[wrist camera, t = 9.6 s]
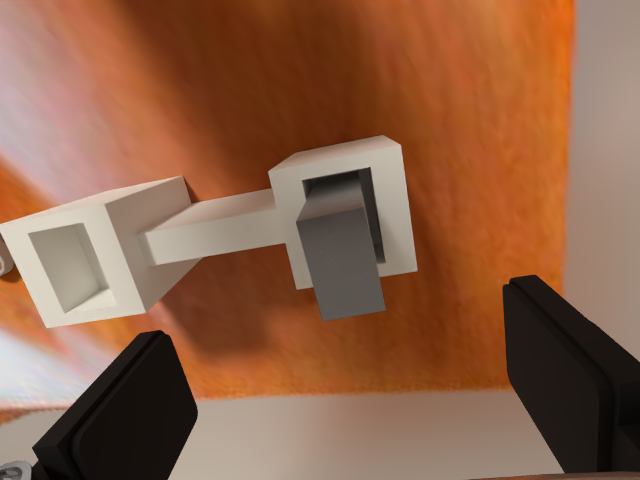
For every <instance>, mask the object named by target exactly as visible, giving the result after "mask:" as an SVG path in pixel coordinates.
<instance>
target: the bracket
mask: <svg viewBox="0 0 640 480" xmlns="http://www.w3.org/2000/svg"><path fill="white" fill-rule="evenodd" d="M0 261H1V265H2V270H0V276H1V275H3V274H6V273H8V272H10V271H11V270H12V268H13V266H14V260H13V258H12V256H11V254H10V251H9V249H8V247H7V246H6V244H5V243H4V242H3V240H2V238H1V236H0Z"/></svg>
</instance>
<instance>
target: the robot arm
mask: <svg viewBox="0 0 640 480" xmlns="http://www.w3.org/2000/svg"><path fill="white" fill-rule="evenodd" d="M503 306H504V324H505V341H506V359H507V373H508V377H509V380H510V383H511V385H512V387H513V388H514V390H515V392H516V393H517V395H518V396H519V398H520V400H521V401H522V403H523V405H524V406H525V408H526V410H527V411H528V413H529V415H530V416H531V418H532V420H533V421H534V423H535V425H536V426H537V428H538V430H539V431H540V433H541V434H542V436H543V438H544V439H545V441H546V443H547V444H548V446H549V448H550V449H551V451H552V453H553V454H554V456H555V458H556V459H557V461H558V463H559V464H560V466H561V467H562V469H563V471H564V472H565V474H542V475H529V476H516V477H500V478H484V479H470V480H640V362H639V361H638V360H637V359H635V358H634V357H633V356H632V355H631V354H630V353H628V352H627V351H626V350H625V349H624V348H623V347H621V346H620V345H619V344H618V343H616V342H615V341H614V340H613V339H612V338H611V337H610V336H608V335H607V334H606V333H605V332H604V331H603V330H601V329H600V328H599V327H598V326H597V325H596V324H594V323H593V322H591V321H589V320H588V319H587V318H586V317H584V316H583V315H582V314H581V313H580V312H578V311H577V310H576V309H575V308H574V307H573V306H571V305H570V304H569V303H568V302H567V301H566V300H565V299H563V298H562V297H561V296H560V295H559V294H558V293H556V292H555V291H554V290H553V289H552V288H551V287H549V286H548V285H547V284H546V283H545V282H544V281H542V280H541V279H540V278H539V277H538V276H536V275H529V276H522V277H515V278H511V279H510V281H509V284H506V285H504V286H503ZM197 414H198V410H197V406H196V403H195V400H194V398H193V395H192V392H191V390H190V387H189V384H188V382H187V379H186V376H185V374H184V371H183V368H182V366H181V363H180V361H179V358H178V355H177V353H176V350H175V347H174V345H173V342H172V339H171V337H170V336H169V335H168V334H165V333H164V332H163V331H161V330H157V331H150V332H144V333H140V334H139V335H137V336H136V338H135V339H134V340H133V341H132V342H131V343H130V344H129V345H128V346H127V347H126V348H125V349H124V350H123V351H122V352H121V354H120V355H119V356H118V357H117V358H116V359H115V360H114V361H113V362H112V363H111V364H110V365H109V366H108V367H107V368H106V370H105V371H104V372H103V373H102V374H101V375H100V376H99V377H98V378H97V379H96V380H95V381H94V382H93V383H92V384H91V386H90V387H89V388H88V389H87V390H86V391H85V392H84V393H83V394H82V395H81V396H80V397H79V398H78V399H77V400H76V402H75V403H74V404H73V405H72V406H71V407H70V408H69V409H68V410H67V411H66V412H65V413H64V414H63V415H62V416H61V418H60V419H59V420H58V421H57V422H56V423H55V424H54V425H53V426H52V427H51V428H50V429H49V430H48V431H47V432H46V434H45V435H44V436H43V437H42V438H41V439H40V440H39V441H38V442H37V443H36V444H35V445H34V446H33V447H32V449H33V451H34V453H35V454H36V456H37V458H38V462H37V463H36V464H35V465H34V466H33V467H32V466H31V465H30V463H28V462H26V461H14V462H10V463H7V464H4V465H2V466H0V480H168V478H169V476H170V474H171V472H172V470H173V468H174V465H175V463H176V461H177V459H178V457H179V455H180V453H181V451H182V449H183V447H184V445H185V443H186V441H187V439H188V437H189V435H190V433H191V430H192V429H193V426H194V424H195V422H196V420H197V416H198V415H197Z"/></svg>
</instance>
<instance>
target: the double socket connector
mask: <svg viewBox="0 0 640 480" xmlns="http://www.w3.org/2000/svg"><path fill="white" fill-rule="evenodd" d="M357 170H358V173H359V178H360V182H361V187H362V192H363V196H364V201H365V206H366V211H367V215H368V220H369V225H370V230H371V234H372V239H373V245H374V250H375V255H376V260H377V266H378V271H379V276H380V277H383V276H390V275H396V274H403V273H409V272H416V271H418V270H417V262H416V255H415V247H414V240H413V232H412V225H411V217H410V210H409V202H408V195H407V187H406V180H405V172H404V164H403V157H402V149H401V145H400V144H398V143H396V142H395V141H393V140H391V139H389V138H388V137H386V136H384V135H380V136H375V137H370V138H365V139H360V140H355V141H350V142H345V143H340V144H335V145H331V146H326V147H321V148H316V149H311V150H306V151H301V152H296V153H294V154H292V155H291V156H290V157H288V158H287V159H285V160H284V161H282V162H281V163H280V164H278V165H277V166H275V167H274V168H272V169H271V170H269V171H268V174H269V178H270V182H271V186H272V188H269V189H264V190H259V191H254V192H249V193H243V194H238V195H233V196H228V197H223V198H217V199H212V200H207V201H202V202H197V203H191V200H190V197H189V194H188V191H187V187H186V184H185V181H184V178H183V176H178V177H173V178H168V179H164V180H159V181H154V182H149V183H144V184H139V185H134V186H129V187H124V188H119V189H114V190H109V191H105V192H102V193H99V194H96V195H93V196H89V197H86V198H83V199H80V200H77V201H73V202H70V203H67V204H64V205H61V206H57V207H54V208H51V209H48V210H45V211H41V212H38V213H35V214H32V215H29V216H25V217H22V218H19V219H16V220H13V221H9V222H6V223H3V224H0V233H1V235H2V237H3V239H4V241H5V243H6V245H7V247H8V249H9V251H10V254H11V256H12V258H13V260H14V262H15V264H16V266H17V268H18V270H19V272H20V274H21V276H22V278H23V280H24V282H25V285H26V287H27V289H28V291H29V293H30V295H31V297H32V299H33V301H34V303H35V305H36V307H37V309H38V311H39V314H40V316H41V318H42V320H43V322H44V324H45V326H46V328H51V327H57V326H64V325H70V324H77V323H83V322H90V321H96V320H103V319H109V318H116V317H122V316H129V315H135V314H142V313H146V312H148V311H149V310H150V309H151V308H152V307H153V306H154V305H155V304H156V303H157V302H158V301H159V300H160V299H161V298H162V297H163V296H164V295H165V294H166V293H167V292H168V291H169V290H170V289H171V288H172V287H173V286H174V285H175V284H176V283H177V282H178V281H179V280H180V279H181V278H182V277H183V276H184V275H185V274H187V273H188V272H189V271H190V270H191V269H192V268H193V267H194V266H195V265H196V264H197V263H198V262H199V261H200V260H201V259H202V258H203V257H206V256H212V255H218V254H224V253H230V252H235V251H241V250H247V249H253V248H259V247H265V246H270V245H276V244H282V243H285V244H286V248H287V252H288V256H289V260H290V264H291V268H292V272H293V277H294V281H295V285H296V289H297V290H298V289H305V288H311V287H313V284H312V280H311V276H310V273H309V269H308V265H307V262H306V258H305V254H304V251H303V247H302V243H301V240H300V236H299V232H298V229H297V225H296V220H297V218H298V216H299V214H300V212H301V210H302V208H303V206H304V204H305V202H306V200H307V198H308V196H309V194H310V192H311V190H312V188H313V186H314V184H315V182H316V180H319V179H323V178H327V177H332V176H336V175H340V174H344V173H349V172H353V171H357Z"/></svg>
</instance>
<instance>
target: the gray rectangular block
mask: <svg viewBox="0 0 640 480" xmlns="http://www.w3.org/2000/svg"><path fill="white" fill-rule="evenodd" d="M296 225H297V229H298V232H299V236H300V240H301V243H302V247H303V251H304V254H305V258H306V262H307V265H308V269H309V273H310V276H311V280H312V284H313V288H314V291H315V295H316V299H317V302H318V306H319V310H320V313H321V317H322V321H329V320H335V319H340V318H346V317H352V316H357V315H363V314H369V313H375V312H380V311H386V308H385V302H384V297H383V292H382V287H381V281H380V276H379V271H378V266H377V260H376V255H375V250H374V245H373V239H372V234H371V230H370V225H369V220H368V215H367V211H366V206H365V201H364V196H363V192H362V187H361V182H360V178H359V173H358V170H357V171H353V172H349V173H344V174H340V175H336V176H332V177H327V178H323V179H319V180H316V182H315V184H314V186H313V188H312V190H311V192H310V194H309V196H308V198H307V200H306V202H305V204H304V206H303V208H302V210H301V212H300V214H299V216H298V218H297V220H296Z"/></svg>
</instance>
